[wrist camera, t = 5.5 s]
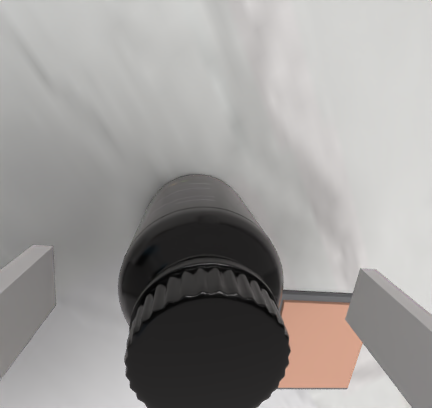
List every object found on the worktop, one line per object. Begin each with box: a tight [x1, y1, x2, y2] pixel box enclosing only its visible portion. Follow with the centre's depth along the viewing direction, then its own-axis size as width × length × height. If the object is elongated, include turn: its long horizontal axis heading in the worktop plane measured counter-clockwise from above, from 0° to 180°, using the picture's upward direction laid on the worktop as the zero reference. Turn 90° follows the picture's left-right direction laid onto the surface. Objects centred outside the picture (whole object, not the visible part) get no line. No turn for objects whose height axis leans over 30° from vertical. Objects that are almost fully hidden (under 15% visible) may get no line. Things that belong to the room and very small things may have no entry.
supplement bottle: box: [118, 175, 291, 408], centre depth 13 cm, size 7×7×12 cm
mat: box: [277, 290, 363, 389], centre depth 23 cm, size 16×10×1 cm, turn 83°
